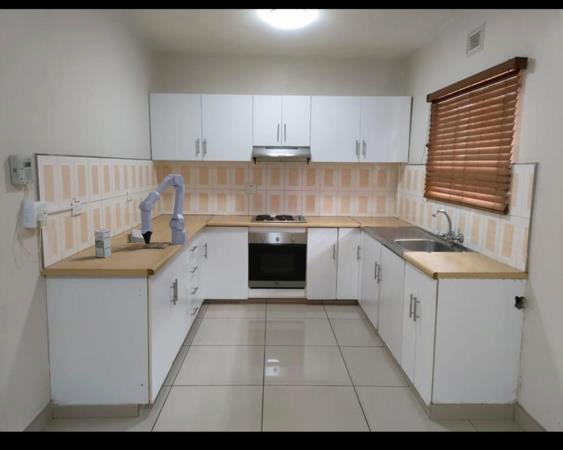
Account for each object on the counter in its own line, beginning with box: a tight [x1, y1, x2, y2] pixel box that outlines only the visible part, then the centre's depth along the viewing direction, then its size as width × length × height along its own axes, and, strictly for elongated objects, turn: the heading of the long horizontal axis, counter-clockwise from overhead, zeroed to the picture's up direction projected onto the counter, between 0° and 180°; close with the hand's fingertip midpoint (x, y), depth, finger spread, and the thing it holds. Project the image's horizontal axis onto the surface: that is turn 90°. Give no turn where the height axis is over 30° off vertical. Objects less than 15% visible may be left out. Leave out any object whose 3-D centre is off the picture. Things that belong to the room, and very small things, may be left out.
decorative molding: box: [130, 228, 145, 244], centre depth 270 cm, size 34×5×10 cm
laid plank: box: [153, 241, 171, 250], centre depth 241 cm, size 6×14×1 cm, turn 2°
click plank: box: [141, 241, 160, 250], centre depth 241 cm, size 7×14×1 cm, turn 2°
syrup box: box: [93, 229, 112, 259], centre depth 213 cm, size 6×6×14 cm
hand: (147, 243), depth 237 cm, fingers closed
